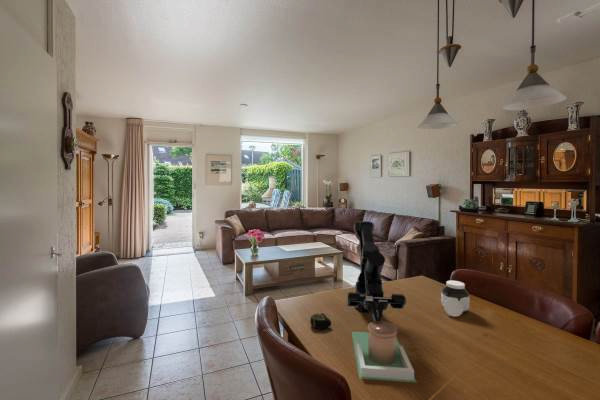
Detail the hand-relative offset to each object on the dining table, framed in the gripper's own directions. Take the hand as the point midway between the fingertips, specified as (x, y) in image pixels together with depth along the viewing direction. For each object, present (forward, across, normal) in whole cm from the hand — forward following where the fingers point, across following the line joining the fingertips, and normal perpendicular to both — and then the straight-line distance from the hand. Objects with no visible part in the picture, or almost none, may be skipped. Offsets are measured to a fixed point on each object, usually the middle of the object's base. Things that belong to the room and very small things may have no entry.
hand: (378, 326), depth 91 cm
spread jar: (-17, -37, -28) cm, 49 cm away
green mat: (+7, 0, -4) cm, 8 cm away
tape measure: (-4, +18, -16) cm, 25 cm away
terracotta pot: (+8, 0, -2) cm, 8 cm away
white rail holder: (+11, 0, 0) cm, 11 cm away
